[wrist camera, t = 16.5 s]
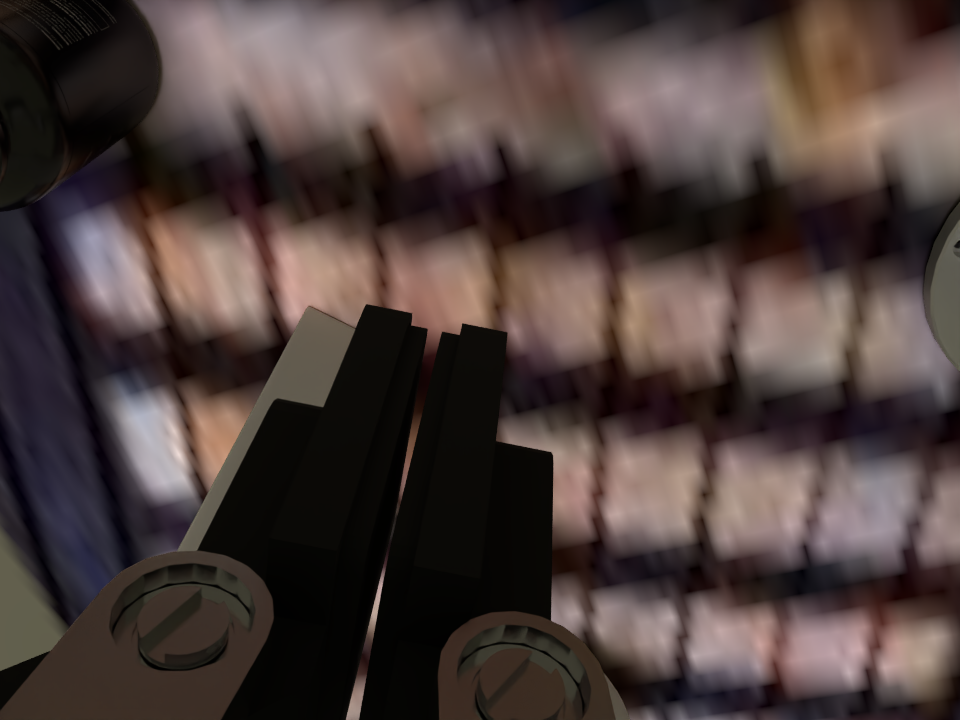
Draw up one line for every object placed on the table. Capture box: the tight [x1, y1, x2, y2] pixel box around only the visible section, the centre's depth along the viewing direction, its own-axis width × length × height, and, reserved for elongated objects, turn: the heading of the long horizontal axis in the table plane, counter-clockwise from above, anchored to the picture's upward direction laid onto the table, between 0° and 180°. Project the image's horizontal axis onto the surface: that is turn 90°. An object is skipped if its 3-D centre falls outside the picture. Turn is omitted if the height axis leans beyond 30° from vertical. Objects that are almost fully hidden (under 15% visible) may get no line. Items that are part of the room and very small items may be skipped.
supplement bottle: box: [0, 0, 158, 212], centre depth 31 cm, size 7×7×12 cm
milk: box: [177, 307, 355, 552], centre depth 34 cm, size 6×6×22 cm
